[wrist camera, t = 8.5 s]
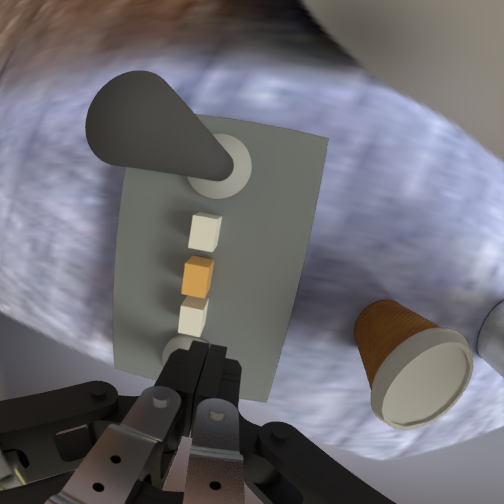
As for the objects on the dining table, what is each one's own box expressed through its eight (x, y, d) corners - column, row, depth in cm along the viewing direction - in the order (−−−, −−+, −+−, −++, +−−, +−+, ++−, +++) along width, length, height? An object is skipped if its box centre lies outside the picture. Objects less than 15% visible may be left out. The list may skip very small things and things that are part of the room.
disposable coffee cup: (322, 343, 30) (350, 419, 18) (374, 268, 28) (436, 315, 16) (383, 373, 31) (423, 441, 19) (431, 308, 29) (493, 358, 17)
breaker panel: (318, 145, 26) (337, 132, 19) (265, 380, 31) (266, 419, 24) (152, 119, 26) (124, 102, 19) (128, 350, 31) (104, 381, 24)
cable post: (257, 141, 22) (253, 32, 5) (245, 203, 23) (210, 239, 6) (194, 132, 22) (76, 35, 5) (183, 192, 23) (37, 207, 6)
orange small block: (214, 259, 24) (209, 267, 21) (210, 287, 24) (204, 298, 22) (192, 255, 24) (185, 263, 21) (188, 283, 24) (181, 293, 22)
